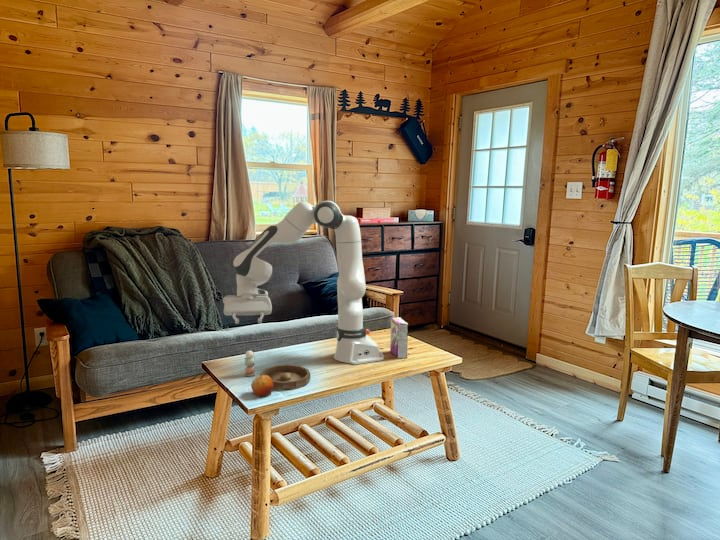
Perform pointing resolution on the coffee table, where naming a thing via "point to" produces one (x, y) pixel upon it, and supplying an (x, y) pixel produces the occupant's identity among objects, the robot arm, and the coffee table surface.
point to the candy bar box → (399, 337)
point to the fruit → (262, 386)
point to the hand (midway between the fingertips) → (248, 322)
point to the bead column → (249, 364)
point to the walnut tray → (295, 376)
